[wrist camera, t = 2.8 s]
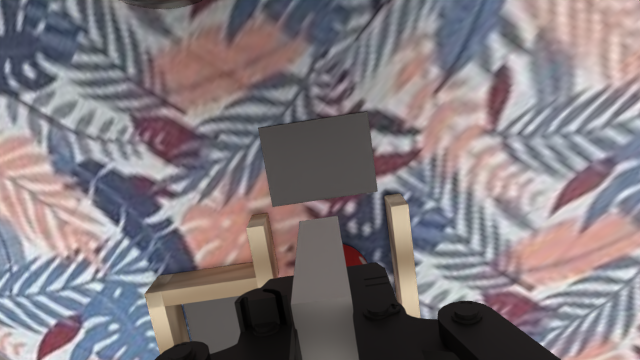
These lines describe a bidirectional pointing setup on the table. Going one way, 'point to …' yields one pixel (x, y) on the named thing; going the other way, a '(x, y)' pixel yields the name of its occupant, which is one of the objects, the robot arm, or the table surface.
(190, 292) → the box
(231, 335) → the mats
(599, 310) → the table surface
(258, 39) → the table surface
